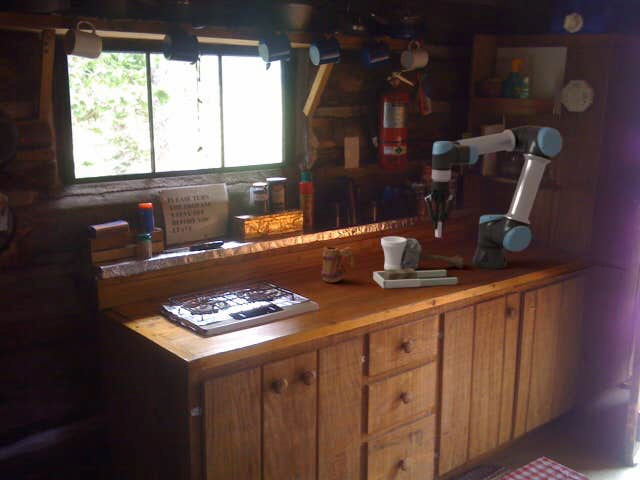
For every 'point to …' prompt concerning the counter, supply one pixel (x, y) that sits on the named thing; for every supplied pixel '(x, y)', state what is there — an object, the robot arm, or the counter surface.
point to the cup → (393, 251)
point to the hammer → (424, 256)
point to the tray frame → (394, 281)
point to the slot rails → (435, 280)
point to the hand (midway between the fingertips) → (438, 236)
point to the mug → (336, 263)
